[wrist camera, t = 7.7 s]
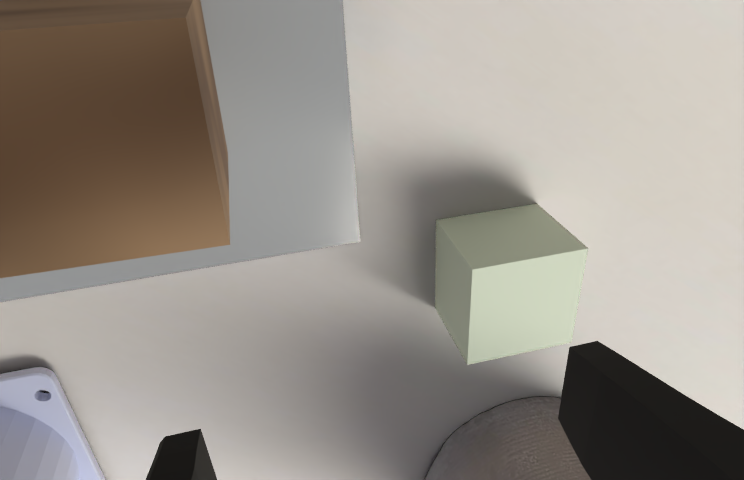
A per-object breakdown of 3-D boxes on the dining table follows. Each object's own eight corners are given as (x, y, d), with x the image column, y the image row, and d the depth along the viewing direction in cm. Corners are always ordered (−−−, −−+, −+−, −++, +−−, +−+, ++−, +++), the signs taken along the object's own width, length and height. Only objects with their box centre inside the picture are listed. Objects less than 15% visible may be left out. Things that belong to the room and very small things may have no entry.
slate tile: (356, 233, 19) (360, 241, 19) (-16, 294, 17) (-22, 306, 17) (323, -197, 13) (327, -202, 13) (-260, -183, 11) (-283, -188, 11)
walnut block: (227, 153, 16) (230, 244, 12) (64, 172, 15) (-4, 278, 11) (197, -13, 14) (185, 17, 9) (5, -1, 13) (-116, 38, 8)
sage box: (525, 288, 23) (571, 342, 20) (434, 306, 22) (467, 365, 19) (535, 202, 21) (588, 248, 18) (434, 218, 20) (472, 269, 17)
